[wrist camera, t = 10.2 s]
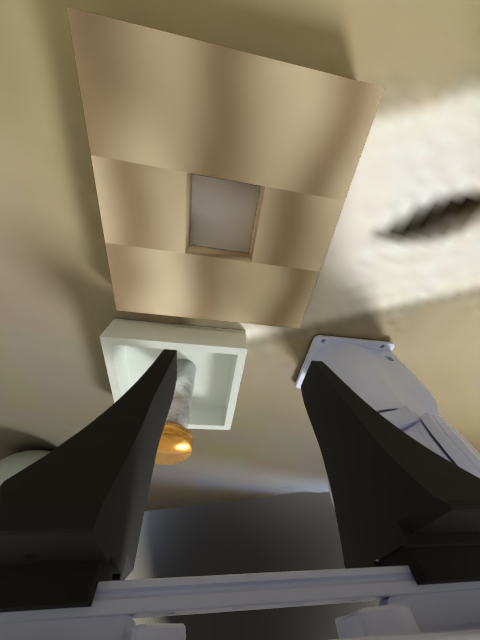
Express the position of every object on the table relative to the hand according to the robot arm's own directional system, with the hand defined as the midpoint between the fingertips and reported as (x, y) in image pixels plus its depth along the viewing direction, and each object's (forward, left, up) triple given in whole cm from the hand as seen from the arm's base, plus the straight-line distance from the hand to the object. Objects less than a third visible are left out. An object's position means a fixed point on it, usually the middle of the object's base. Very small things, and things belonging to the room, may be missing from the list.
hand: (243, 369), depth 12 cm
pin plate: (+2, -6, -10) cm, 12 cm away
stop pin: (+5, +10, -10) cm, 15 cm away
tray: (+5, +11, -10) cm, 16 cm away
